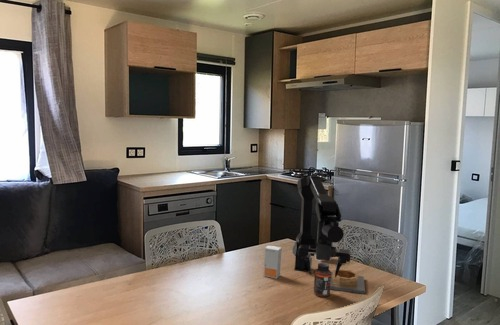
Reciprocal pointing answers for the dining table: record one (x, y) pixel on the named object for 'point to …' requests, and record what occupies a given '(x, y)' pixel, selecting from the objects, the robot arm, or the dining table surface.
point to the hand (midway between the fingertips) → (322, 275)
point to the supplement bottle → (322, 280)
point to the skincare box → (272, 261)
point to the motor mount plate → (347, 281)
